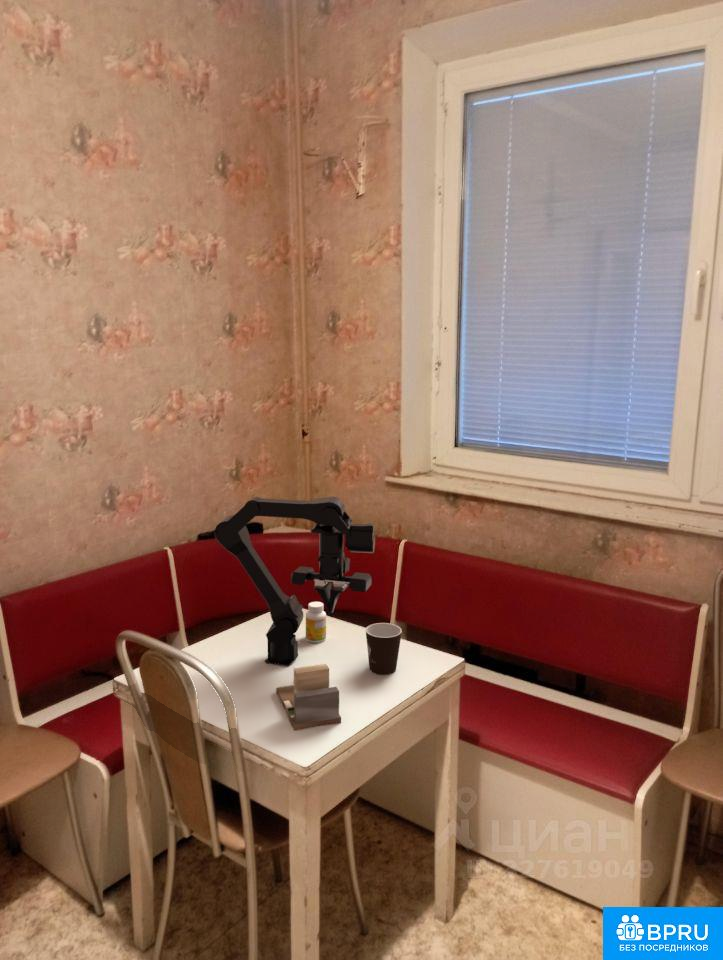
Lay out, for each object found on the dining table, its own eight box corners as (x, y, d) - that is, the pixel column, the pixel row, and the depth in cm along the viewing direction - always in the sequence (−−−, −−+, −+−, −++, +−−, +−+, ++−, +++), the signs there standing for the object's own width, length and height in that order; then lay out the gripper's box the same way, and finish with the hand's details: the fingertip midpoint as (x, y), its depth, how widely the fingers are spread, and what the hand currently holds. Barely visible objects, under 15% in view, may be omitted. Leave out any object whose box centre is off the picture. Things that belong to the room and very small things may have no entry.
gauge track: (276, 692, 161) (276, 662, 160) (319, 686, 164) (319, 656, 163) (294, 730, 146) (294, 698, 144) (341, 722, 149) (341, 690, 148)
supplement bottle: (302, 636, 191) (302, 602, 189) (321, 633, 193) (322, 599, 191) (309, 644, 186) (309, 609, 184) (328, 641, 188) (329, 606, 186)
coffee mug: (397, 679, 168) (398, 639, 166) (361, 675, 170) (362, 635, 168) (404, 657, 179) (405, 620, 177) (370, 654, 181) (371, 616, 179)
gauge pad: (286, 708, 151) (286, 669, 150) (325, 702, 154) (325, 663, 152) (289, 714, 149) (289, 674, 147) (328, 708, 152) (329, 668, 150)
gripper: (377, 544, 176) (376, 605, 179) (306, 538, 181) (306, 596, 184) (365, 558, 165) (364, 622, 168) (289, 550, 170) (290, 612, 173)
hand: (330, 612), depth 174 cm, fingers closed
